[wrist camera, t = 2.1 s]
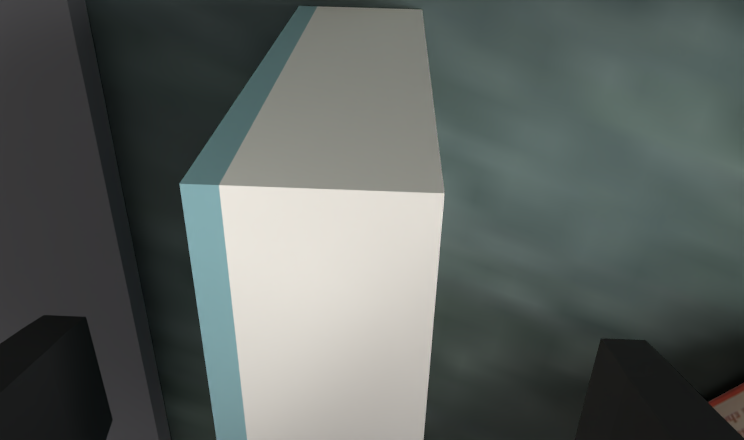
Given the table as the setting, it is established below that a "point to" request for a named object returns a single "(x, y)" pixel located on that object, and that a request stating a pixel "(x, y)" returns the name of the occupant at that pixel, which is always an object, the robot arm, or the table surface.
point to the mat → (70, 207)
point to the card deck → (321, 234)
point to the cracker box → (731, 407)
